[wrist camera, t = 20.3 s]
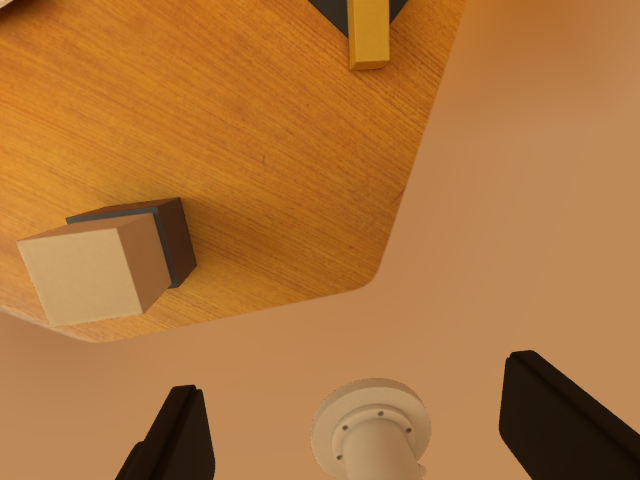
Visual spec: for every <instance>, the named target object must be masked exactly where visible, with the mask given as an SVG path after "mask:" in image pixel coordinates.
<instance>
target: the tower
mask: <svg viewBox="0 0 640 480" xmlns="http://www.w3.org/2000/svg"><path fill="white" fill-rule="evenodd" d="M66 221H67V224H68V225H65V226H62V227H59V228H56V229H53V230H50V231H46V232H43V233H40V234H37V235H34V236H31V237H28V238H24V239H21V240H18V241H16V244H17V246H18V249H19V251H20V254H21V256H22V258H23V261H24V263H25V266H26V268H27V271H28V273H29V276H30V278H31V280H32V283H33V285H34V288H35V290H36V293H37V295H38V297H39V300H40V302H41V305H42V307H43V310H44V312H45V315H46V317H47V319H48V322H49V324H50V327H51V328H54V327H61V326H68V325H74V324H81V323H88V322H95V321H101V320H108V319H115V318H122V317H129V316H135V315H142V314H144V313H145V312H146V311H147V310H148V309H149V308H150V307H151V306H152V304H153V303H154V302H155V301H156V300H157V299H158V298H159V297H160V296H161V295H162V294H163V293H164V291H165V290H166V289H171V288H177V287H179V286H180V285H181V284H182V283H183V282H184V280H185V279H186V278H187V277H188V276H189V274H190V273H191V272H192V271H193V270H194V269H195V267H196V266H197V265H196V261H195V257H194V252H193V248H192V244H191V240H190V236H189V232H188V228H187V224H186V220H185V216H184V212H183V208H182V204H181V200H180V197H178V198H170V199H163V200H155V201H147V202H140V203H132V204H124V205H117V206H109V207H103V208H100V209H96V210H93V211H89V212H86V213H82V214H79V215H75V216H72V217H68V218H66Z"/></svg>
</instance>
